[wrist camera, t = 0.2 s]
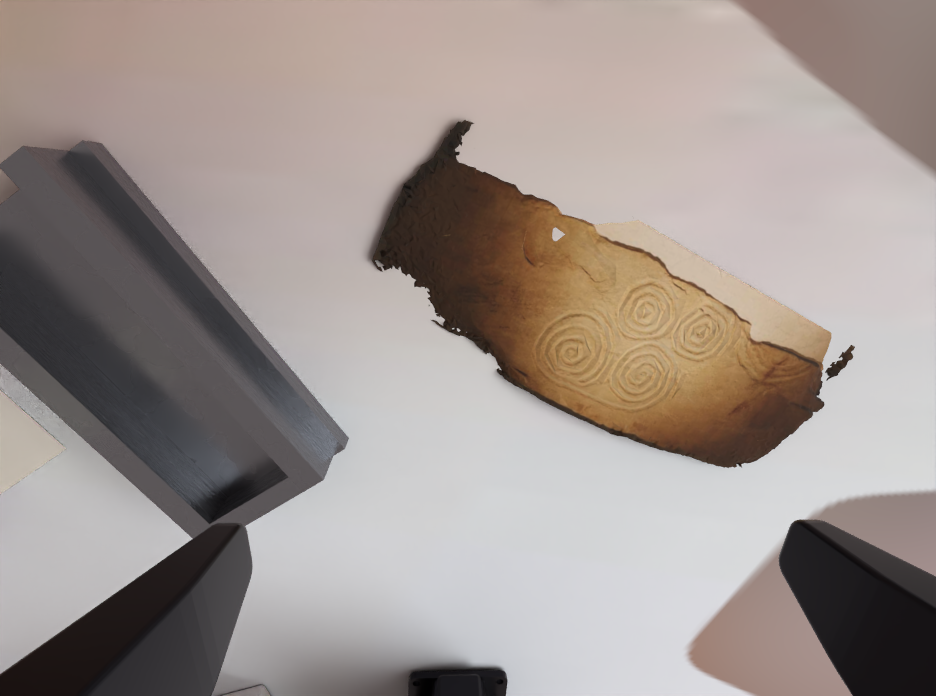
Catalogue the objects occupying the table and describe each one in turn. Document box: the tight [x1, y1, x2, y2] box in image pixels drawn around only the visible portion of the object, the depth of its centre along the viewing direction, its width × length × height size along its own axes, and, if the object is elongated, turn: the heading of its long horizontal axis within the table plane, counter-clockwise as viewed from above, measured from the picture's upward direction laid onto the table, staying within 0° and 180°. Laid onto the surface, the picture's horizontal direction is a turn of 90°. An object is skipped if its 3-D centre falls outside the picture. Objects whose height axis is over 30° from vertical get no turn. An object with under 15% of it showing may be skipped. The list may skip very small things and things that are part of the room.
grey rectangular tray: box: [0, 141, 349, 539], centre depth 20 cm, size 16×8×3 cm, turn 32°
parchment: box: [372, 120, 855, 468], centre depth 22 cm, size 25×10×1 cm, turn 62°
